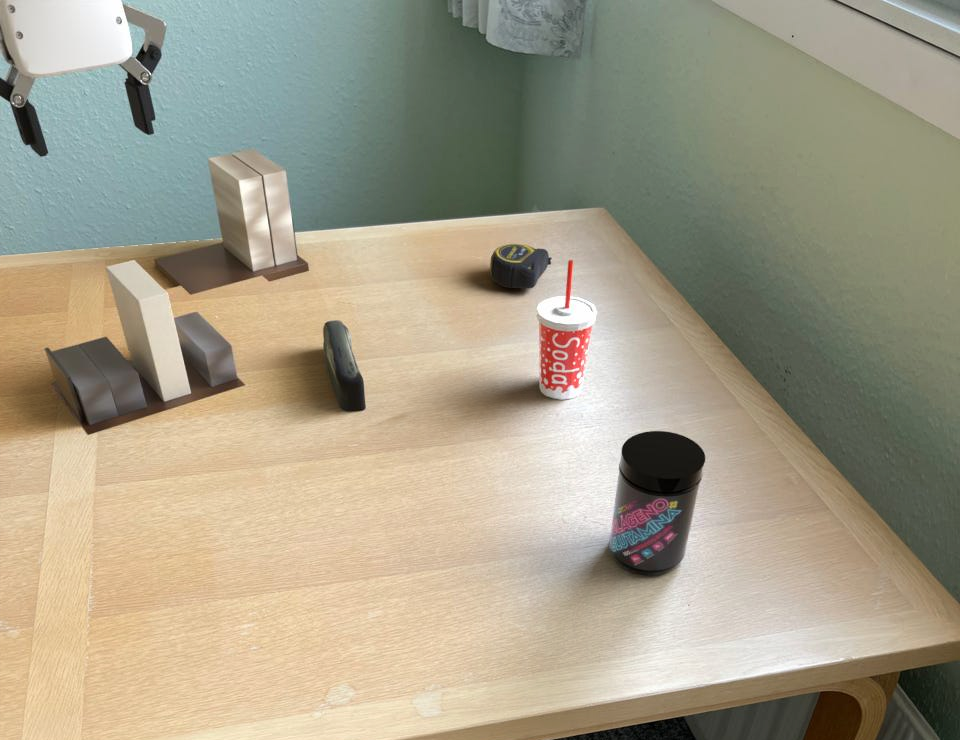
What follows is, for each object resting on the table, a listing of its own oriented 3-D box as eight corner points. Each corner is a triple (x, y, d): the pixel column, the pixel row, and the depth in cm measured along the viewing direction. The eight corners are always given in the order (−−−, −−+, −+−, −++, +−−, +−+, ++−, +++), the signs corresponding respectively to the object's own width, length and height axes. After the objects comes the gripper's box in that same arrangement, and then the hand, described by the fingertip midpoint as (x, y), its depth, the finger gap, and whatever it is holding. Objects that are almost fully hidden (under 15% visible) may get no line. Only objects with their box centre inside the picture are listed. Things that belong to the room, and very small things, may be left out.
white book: (164, 402, 99) (138, 300, 91) (132, 365, 104) (105, 266, 96) (191, 393, 100) (168, 292, 92) (158, 357, 105) (134, 259, 97)
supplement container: (594, 539, 85) (606, 440, 78) (660, 522, 87) (678, 424, 80) (629, 586, 81) (646, 486, 73) (698, 568, 83) (722, 468, 75)
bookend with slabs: (192, 302, 117) (170, 201, 108) (155, 266, 123) (132, 169, 115) (309, 270, 123) (297, 172, 115) (267, 238, 130) (253, 144, 121)
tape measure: (533, 298, 118) (535, 268, 116) (481, 288, 120) (482, 259, 117) (550, 275, 123) (552, 246, 120) (500, 266, 124) (501, 238, 122)
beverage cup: (523, 395, 102) (529, 267, 92) (545, 369, 106) (553, 243, 96) (577, 408, 100) (589, 279, 90) (596, 381, 104) (610, 254, 94)
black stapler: (367, 376, 95) (340, 306, 105) (338, 380, 95) (313, 309, 105) (371, 419, 99) (344, 346, 109) (342, 423, 98) (318, 350, 108)
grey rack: (90, 443, 95) (73, 389, 91) (52, 390, 102) (34, 338, 98) (247, 393, 102) (237, 341, 98) (202, 347, 109) (191, 296, 105)
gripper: (120, -112, 80) (168, 113, 92) (-100, -92, 73) (-17, 148, 85) (154, -101, 75) (200, 134, 87) (-77, -78, 68) (8, 173, 80)
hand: (93, 141), depth 86 cm, fingers open, 9 cm apart
